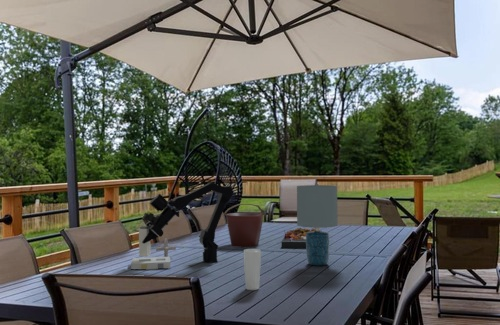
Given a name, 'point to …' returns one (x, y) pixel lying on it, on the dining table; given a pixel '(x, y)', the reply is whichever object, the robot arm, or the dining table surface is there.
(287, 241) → the food platter
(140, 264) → the socket panel
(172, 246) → the pipe connector
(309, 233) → the lamp
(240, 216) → the bucket
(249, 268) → the drinking glass
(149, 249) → the plug
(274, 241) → the dining table surface
